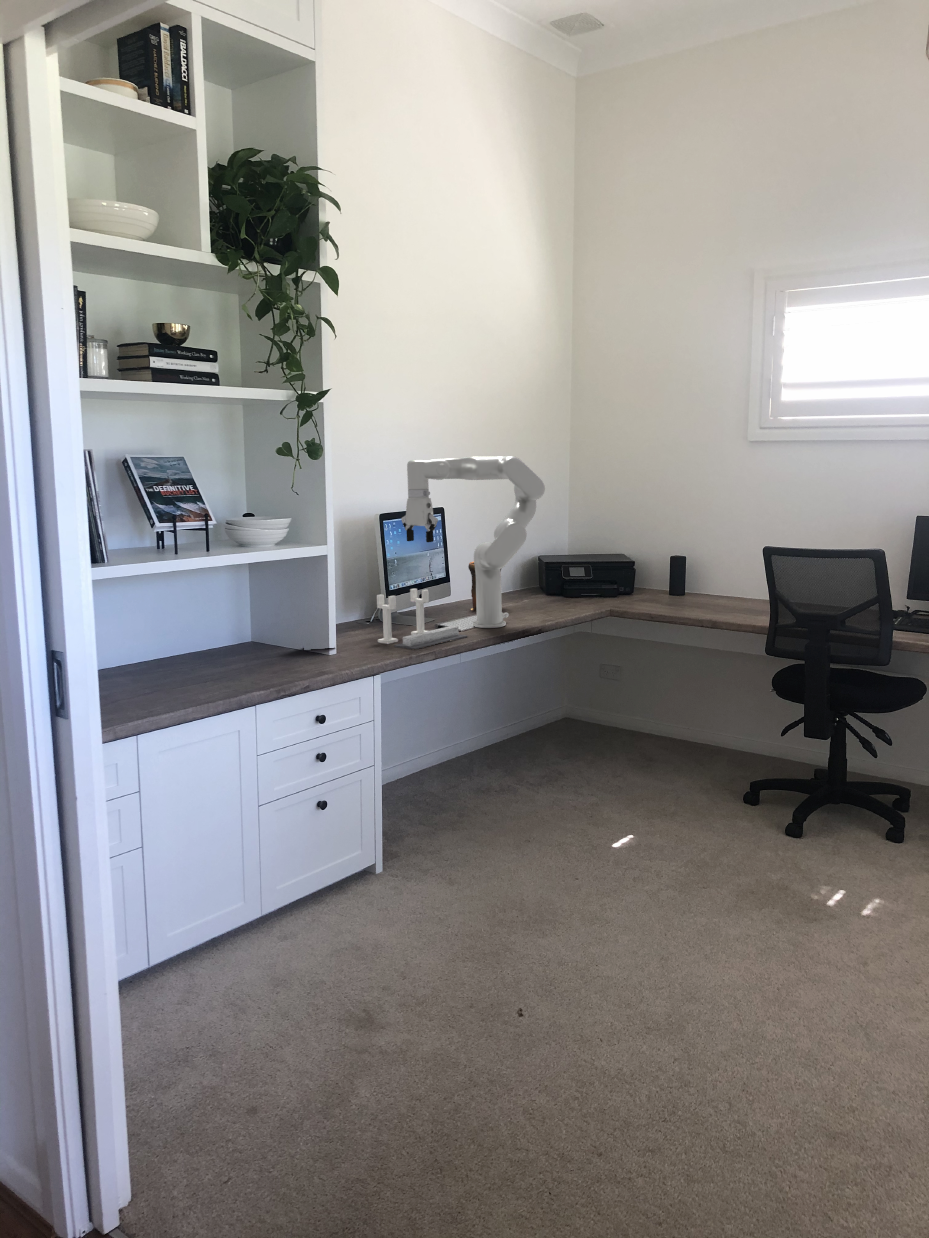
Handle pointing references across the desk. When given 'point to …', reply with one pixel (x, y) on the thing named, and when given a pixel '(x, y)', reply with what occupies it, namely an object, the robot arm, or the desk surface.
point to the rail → (430, 636)
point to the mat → (431, 642)
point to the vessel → (473, 584)
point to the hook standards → (392, 605)
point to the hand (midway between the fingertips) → (420, 541)
